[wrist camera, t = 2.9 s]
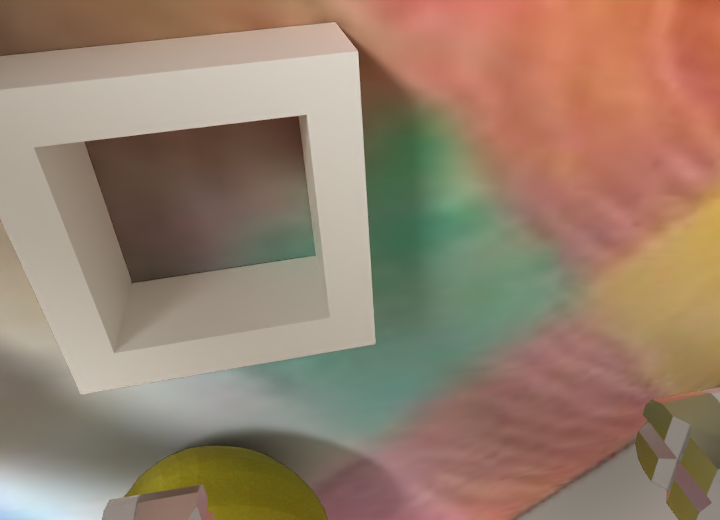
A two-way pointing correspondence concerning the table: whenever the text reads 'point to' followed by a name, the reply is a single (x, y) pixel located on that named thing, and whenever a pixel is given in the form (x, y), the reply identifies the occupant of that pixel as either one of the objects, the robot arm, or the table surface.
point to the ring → (201, 290)
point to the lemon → (235, 484)
